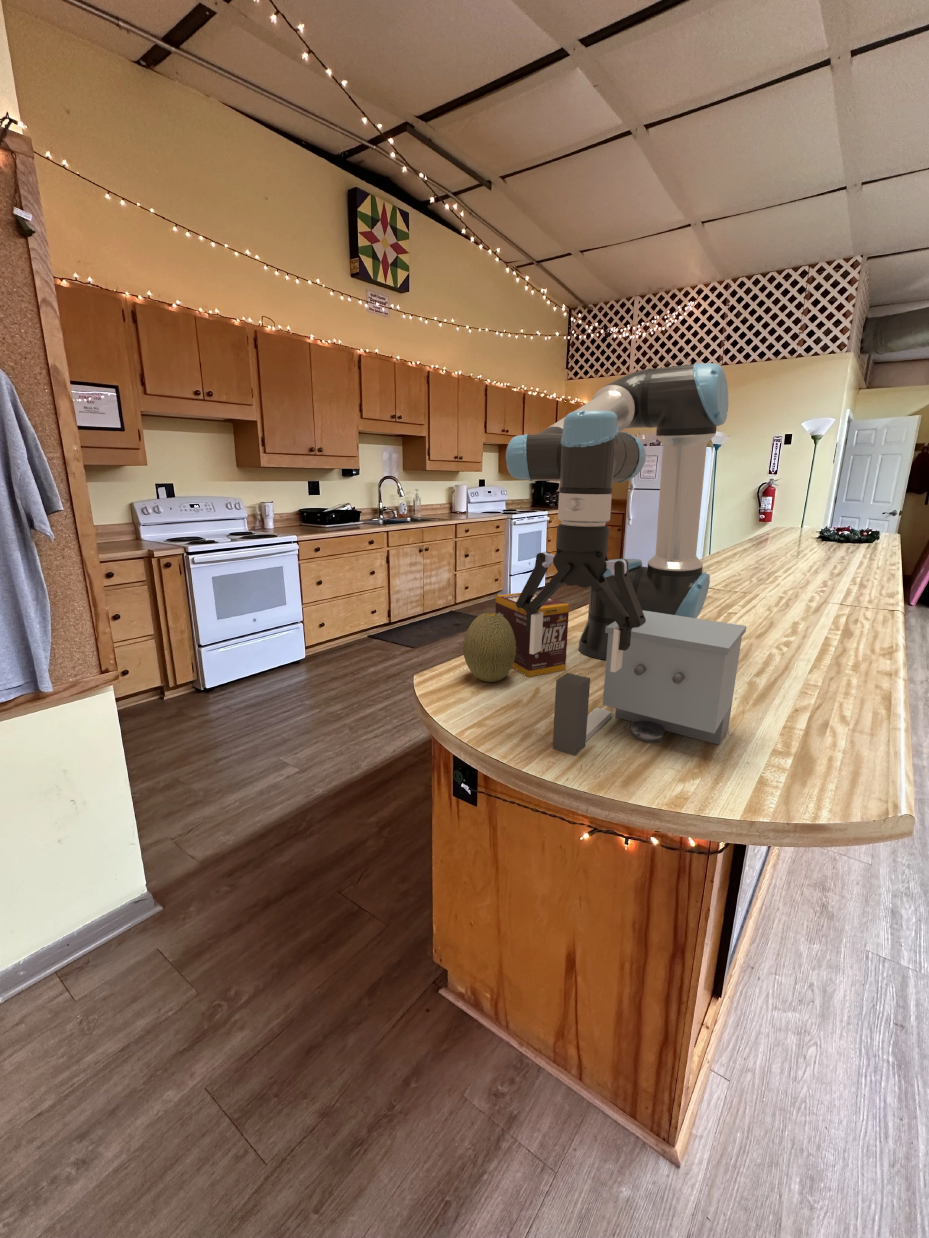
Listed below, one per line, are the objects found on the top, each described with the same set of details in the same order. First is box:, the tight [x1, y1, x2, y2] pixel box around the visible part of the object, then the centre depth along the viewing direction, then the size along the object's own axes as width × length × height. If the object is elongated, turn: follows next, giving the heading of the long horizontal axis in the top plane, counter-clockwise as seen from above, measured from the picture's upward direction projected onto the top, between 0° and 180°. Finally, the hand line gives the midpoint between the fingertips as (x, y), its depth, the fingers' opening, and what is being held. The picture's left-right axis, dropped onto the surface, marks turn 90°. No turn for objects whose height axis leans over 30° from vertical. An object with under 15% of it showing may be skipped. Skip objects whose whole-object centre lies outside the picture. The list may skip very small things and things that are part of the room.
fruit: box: [462, 612, 516, 683], centre depth 116 cm, size 11×11×15 cm
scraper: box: [552, 672, 613, 757], centre depth 93 cm, size 4×17×12 cm, turn 144°
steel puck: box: [630, 721, 665, 744], centre depth 94 cm, size 6×6×2 cm
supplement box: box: [494, 592, 570, 678], centre depth 126 cm, size 10×15×16 cm
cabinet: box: [602, 610, 747, 746], centre depth 92 cm, size 19×16×19 cm
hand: (573, 660), depth 85 cm, fingers open, 13 cm apart
